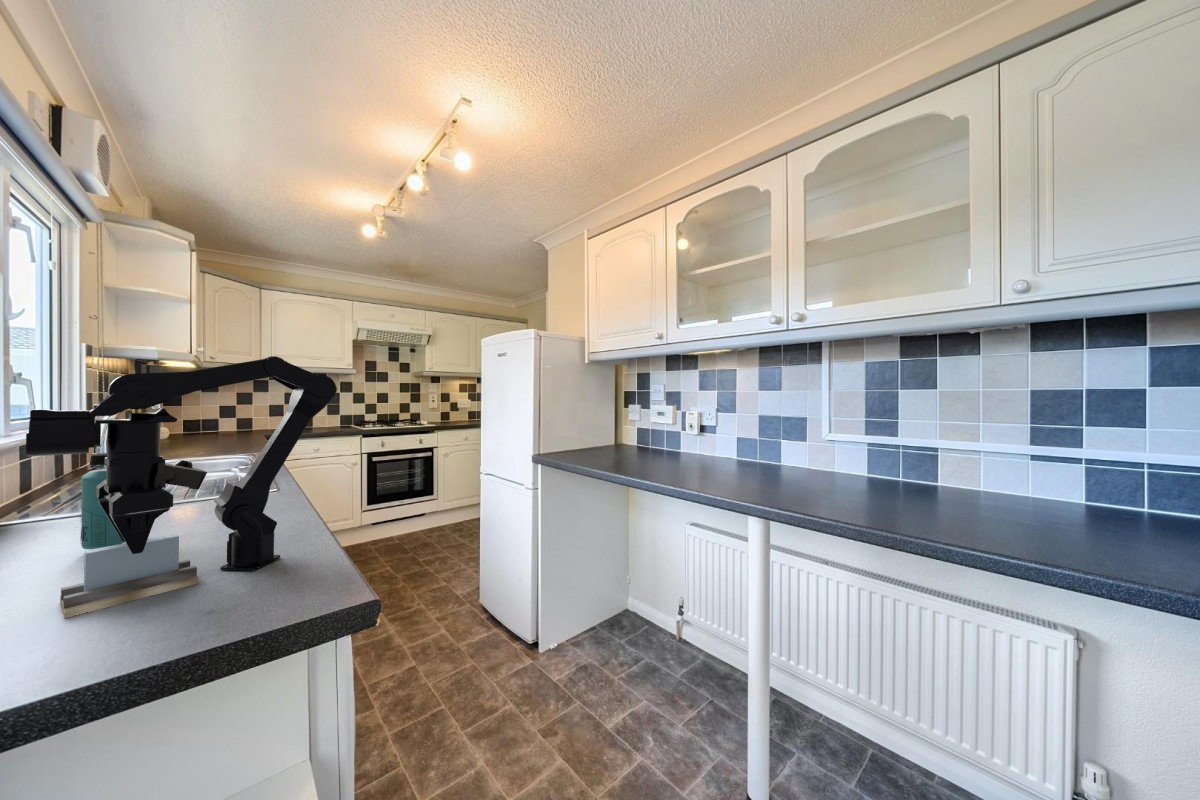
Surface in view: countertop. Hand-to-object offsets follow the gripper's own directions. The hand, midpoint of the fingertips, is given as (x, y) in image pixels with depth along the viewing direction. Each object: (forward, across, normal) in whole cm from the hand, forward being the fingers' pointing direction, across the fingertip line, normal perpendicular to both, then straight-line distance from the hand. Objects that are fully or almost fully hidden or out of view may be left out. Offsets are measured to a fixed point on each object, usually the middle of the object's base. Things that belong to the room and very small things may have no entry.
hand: (132, 546), depth 67 cm
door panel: (+6, 0, 0) cm, 7 cm away
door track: (+8, 0, 0) cm, 8 cm away
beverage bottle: (+8, +30, 0) cm, 31 cm away
